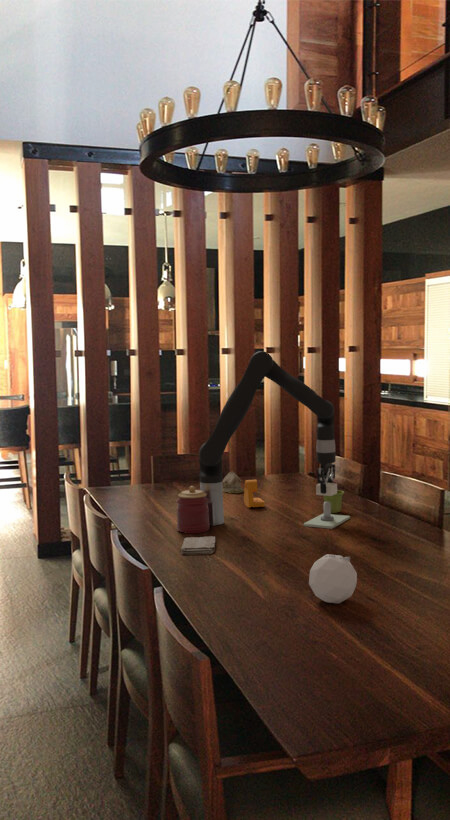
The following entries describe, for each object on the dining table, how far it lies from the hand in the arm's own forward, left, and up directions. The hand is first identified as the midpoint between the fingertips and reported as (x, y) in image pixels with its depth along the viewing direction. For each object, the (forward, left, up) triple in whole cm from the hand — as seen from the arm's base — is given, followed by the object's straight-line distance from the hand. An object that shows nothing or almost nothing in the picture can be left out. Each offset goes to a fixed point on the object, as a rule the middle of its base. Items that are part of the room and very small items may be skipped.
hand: (326, 491), depth 308 cm
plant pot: (+19, +5, -13) cm, 23 cm away
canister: (-33, +43, -13) cm, 56 cm away
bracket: (+17, +42, -13) cm, 47 cm away
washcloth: (-55, +27, -13) cm, 63 cm away
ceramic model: (+45, +69, -13) cm, 83 cm away
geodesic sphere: (-89, -38, -13) cm, 98 cm away
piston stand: (0, 0, -12) cm, 12 cm away
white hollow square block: (0, 0, -1) cm, 1 cm away
